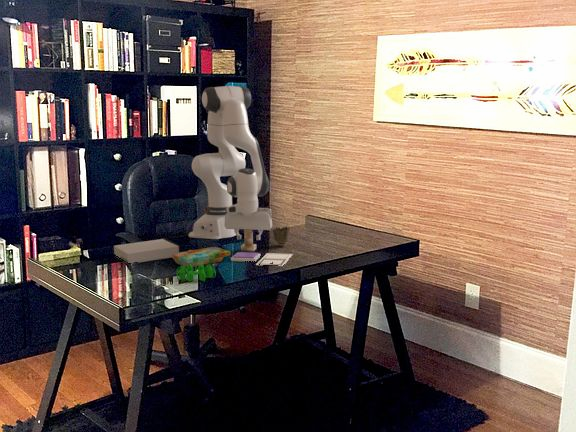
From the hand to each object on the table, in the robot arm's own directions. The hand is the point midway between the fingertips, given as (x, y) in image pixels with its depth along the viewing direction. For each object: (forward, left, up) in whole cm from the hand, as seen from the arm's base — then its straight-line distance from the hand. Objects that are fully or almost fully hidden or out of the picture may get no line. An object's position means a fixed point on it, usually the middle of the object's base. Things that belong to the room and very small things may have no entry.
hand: (248, 239), depth 278 cm
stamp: (0, 0, -5) cm, 5 cm away
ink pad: (+2, -14, -5) cm, 15 cm away
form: (+14, -14, -5) cm, 21 cm away
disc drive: (-40, -15, -6) cm, 43 cm away
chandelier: (-8, -43, -5) cm, 44 cm away
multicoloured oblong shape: (-14, -21, -5) cm, 26 cm away
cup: (+12, +10, -5) cm, 16 cm away
